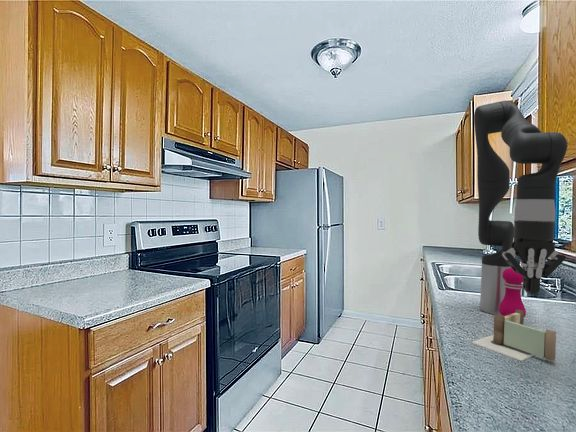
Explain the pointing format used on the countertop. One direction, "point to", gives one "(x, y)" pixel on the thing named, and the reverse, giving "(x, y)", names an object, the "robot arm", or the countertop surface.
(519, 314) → the fence fixed
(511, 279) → the pepper mill
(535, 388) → the countertop surface
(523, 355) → the card
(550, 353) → the fence gate
